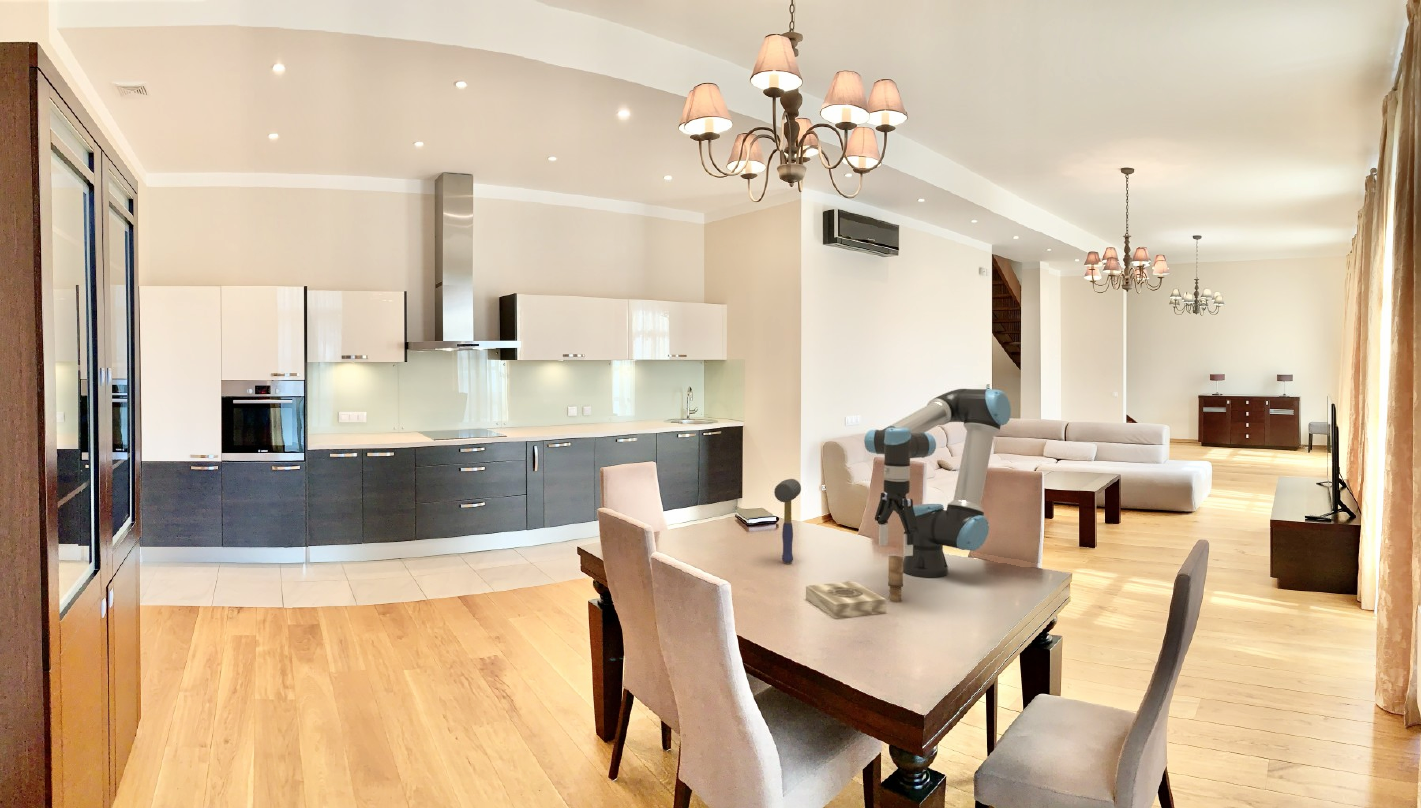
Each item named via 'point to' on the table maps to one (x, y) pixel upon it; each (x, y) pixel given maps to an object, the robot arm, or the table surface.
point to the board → (845, 599)
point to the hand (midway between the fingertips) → (895, 550)
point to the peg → (895, 577)
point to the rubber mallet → (787, 514)
